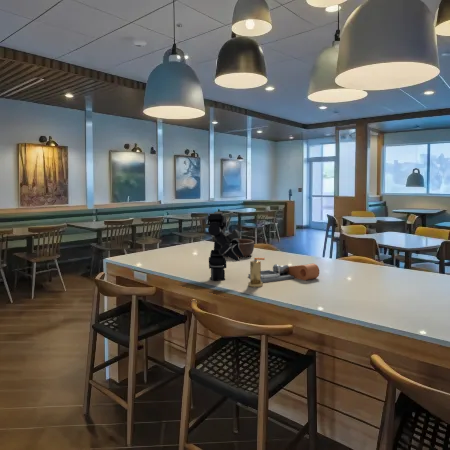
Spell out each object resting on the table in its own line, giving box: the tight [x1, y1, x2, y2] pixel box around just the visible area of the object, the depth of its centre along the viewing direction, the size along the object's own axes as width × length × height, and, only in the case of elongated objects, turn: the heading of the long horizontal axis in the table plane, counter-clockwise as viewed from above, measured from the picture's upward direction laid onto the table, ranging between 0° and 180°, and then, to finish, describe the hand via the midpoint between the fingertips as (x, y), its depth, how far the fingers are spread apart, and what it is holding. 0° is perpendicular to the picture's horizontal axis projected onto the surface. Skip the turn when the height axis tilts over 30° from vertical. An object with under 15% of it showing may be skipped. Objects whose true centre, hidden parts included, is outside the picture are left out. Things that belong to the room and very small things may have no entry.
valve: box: [247, 257, 266, 288], centre depth 190 cm, size 8×7×14 cm
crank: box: [288, 263, 320, 281], centre depth 208 cm, size 20×8×8 cm, turn 34°
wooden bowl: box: [224, 238, 255, 258], centre depth 270 cm, size 25×25×10 cm
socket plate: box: [247, 263, 295, 284], centre depth 206 cm, size 20×14×7 cm
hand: (240, 258), depth 192 cm, fingers open, 9 cm apart
